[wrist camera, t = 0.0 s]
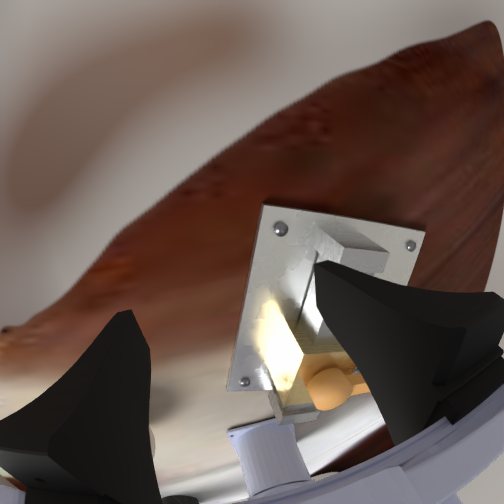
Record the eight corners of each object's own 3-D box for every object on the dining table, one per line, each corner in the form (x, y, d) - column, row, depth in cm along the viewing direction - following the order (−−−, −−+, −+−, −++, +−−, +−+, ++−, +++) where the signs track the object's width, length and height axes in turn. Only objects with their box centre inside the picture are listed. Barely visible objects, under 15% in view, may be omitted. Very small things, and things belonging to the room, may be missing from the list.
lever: (302, 396, 22) (310, 414, 20) (314, 369, 21) (323, 387, 19) (408, 376, 25) (417, 388, 23) (422, 353, 24) (433, 364, 22)
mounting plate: (360, 374, 31) (364, 379, 30) (226, 387, 27) (227, 393, 26) (421, 230, 25) (427, 233, 24) (261, 202, 20) (265, 206, 19)
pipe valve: (309, 392, 29) (325, 423, 25) (260, 396, 28) (272, 431, 24) (368, 234, 23) (402, 257, 19) (308, 225, 21) (338, 250, 17)
